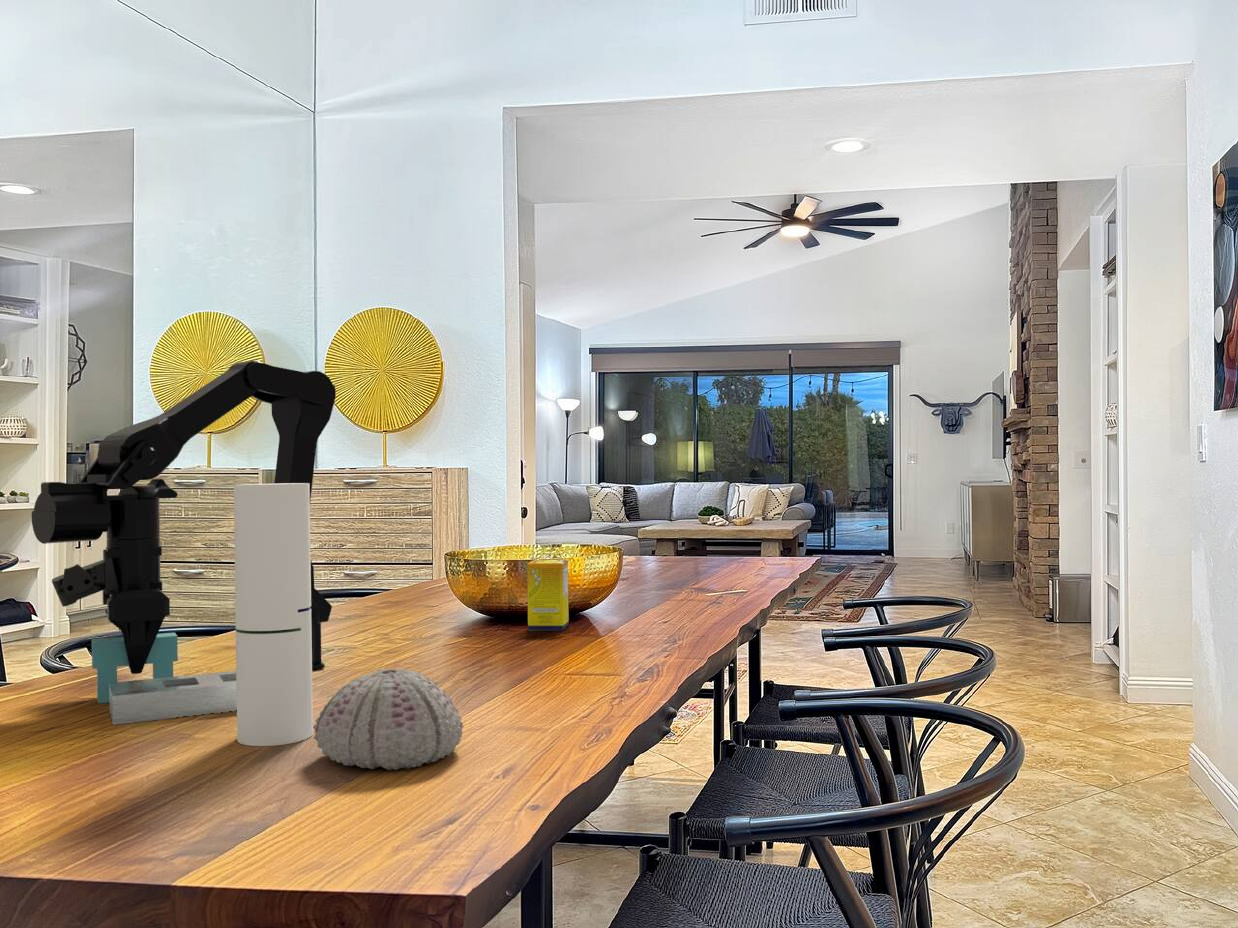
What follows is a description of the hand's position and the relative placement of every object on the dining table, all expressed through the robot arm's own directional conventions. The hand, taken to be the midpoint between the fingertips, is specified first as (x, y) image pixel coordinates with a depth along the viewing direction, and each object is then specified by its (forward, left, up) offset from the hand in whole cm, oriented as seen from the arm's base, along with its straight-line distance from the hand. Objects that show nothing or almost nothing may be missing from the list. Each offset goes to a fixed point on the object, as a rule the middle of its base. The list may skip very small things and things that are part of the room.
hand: (135, 671), depth 126 cm
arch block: (0, 0, -3) cm, 3 cm away
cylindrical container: (-11, +28, -3) cm, 30 cm away
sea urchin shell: (-19, +41, -3) cm, 45 cm away
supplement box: (-63, -23, -3) cm, 67 cm away
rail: (-7, +10, -3) cm, 13 cm away
